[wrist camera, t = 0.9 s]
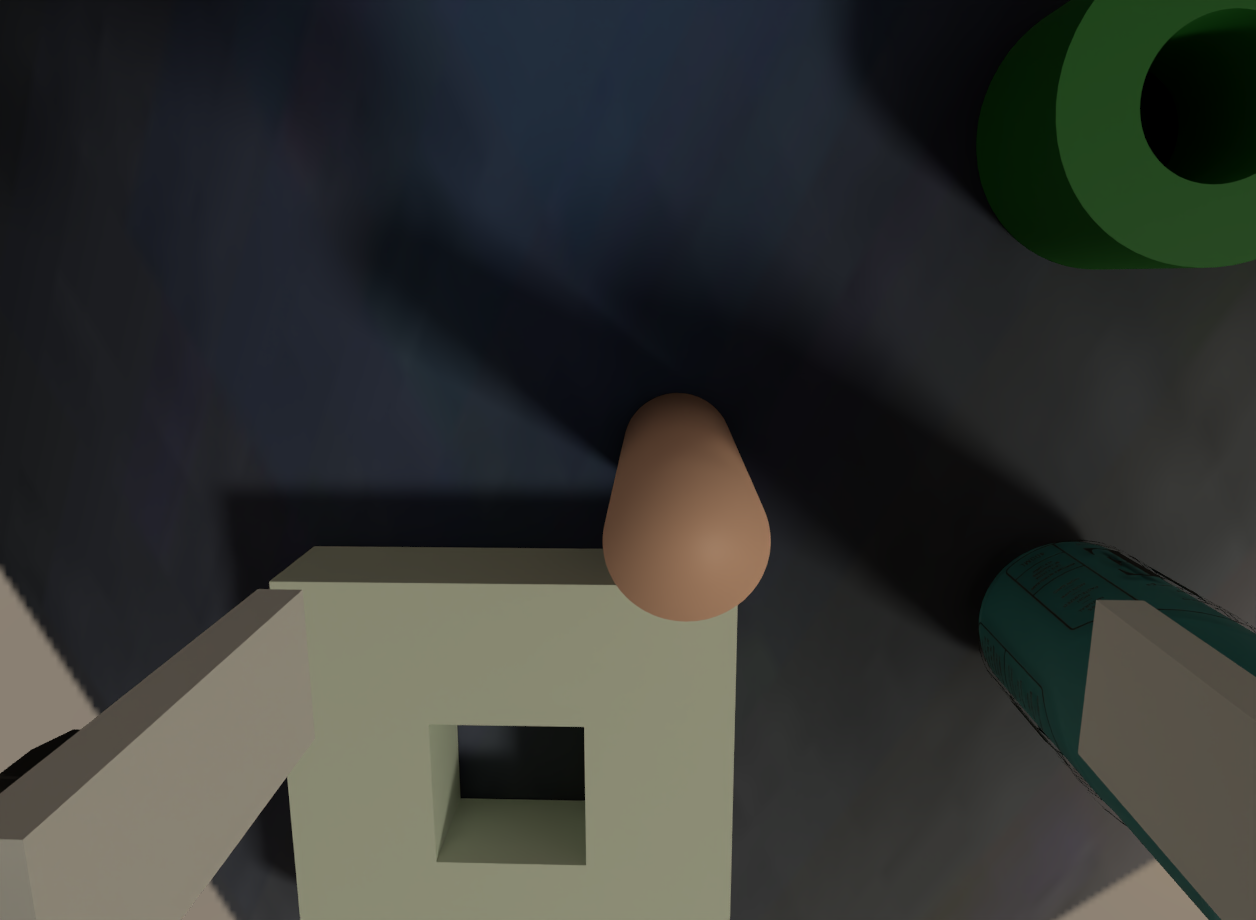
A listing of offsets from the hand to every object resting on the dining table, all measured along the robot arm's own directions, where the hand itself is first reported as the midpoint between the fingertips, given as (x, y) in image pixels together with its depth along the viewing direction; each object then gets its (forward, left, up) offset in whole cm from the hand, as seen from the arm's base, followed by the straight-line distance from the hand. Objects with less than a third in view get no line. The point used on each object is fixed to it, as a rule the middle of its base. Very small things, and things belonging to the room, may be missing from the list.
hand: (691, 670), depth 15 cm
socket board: (+12, -6, -19) cm, 23 cm away
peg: (0, 0, -19) cm, 19 cm away
